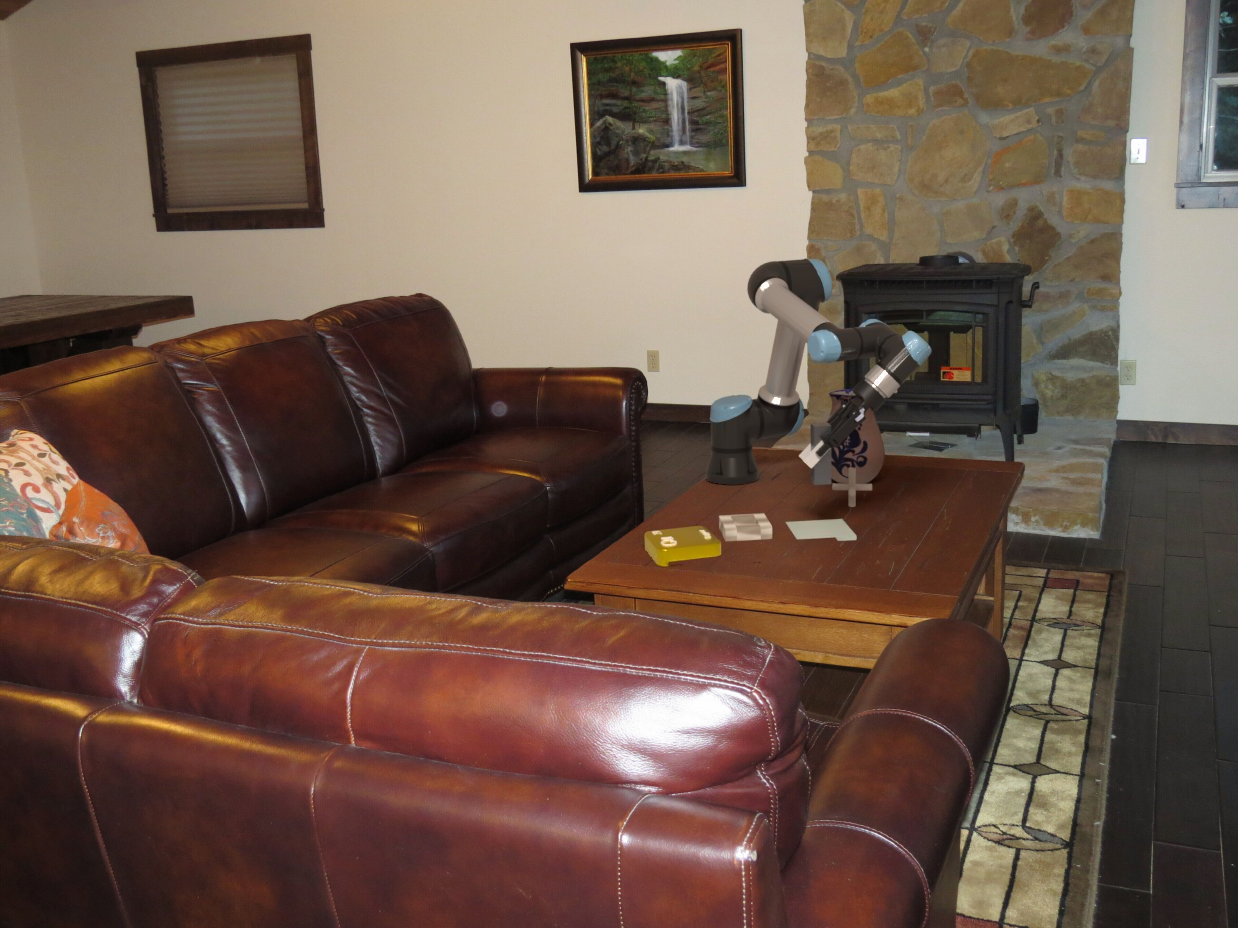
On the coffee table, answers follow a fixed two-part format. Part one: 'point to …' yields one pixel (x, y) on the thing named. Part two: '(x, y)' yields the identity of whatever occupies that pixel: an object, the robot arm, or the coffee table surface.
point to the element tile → (681, 544)
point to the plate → (822, 529)
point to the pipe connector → (852, 487)
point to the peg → (823, 466)
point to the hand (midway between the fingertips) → (804, 461)
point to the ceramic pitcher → (857, 446)
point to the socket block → (745, 527)
